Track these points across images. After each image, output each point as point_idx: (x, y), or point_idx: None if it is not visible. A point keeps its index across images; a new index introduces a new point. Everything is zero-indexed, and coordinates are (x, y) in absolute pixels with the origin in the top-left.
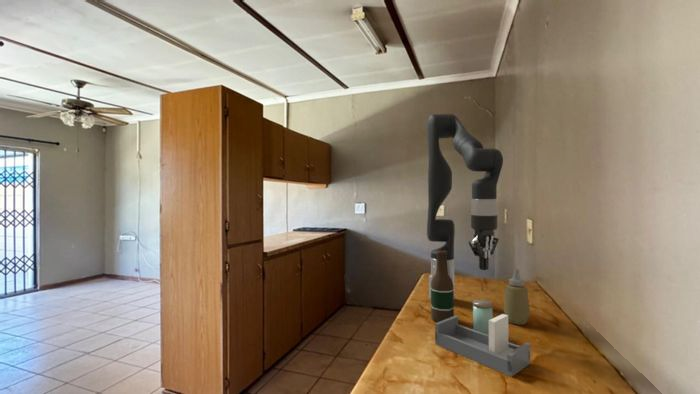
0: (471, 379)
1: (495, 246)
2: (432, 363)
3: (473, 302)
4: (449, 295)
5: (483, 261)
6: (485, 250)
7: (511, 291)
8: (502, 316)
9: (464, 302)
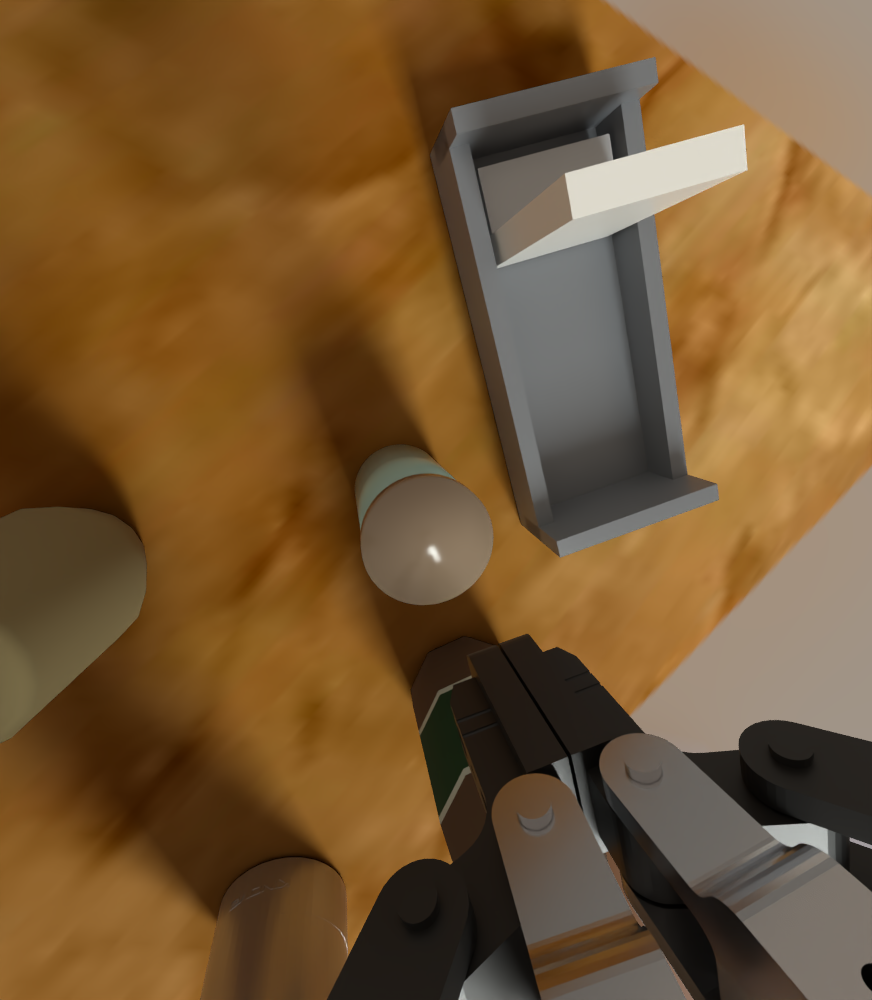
0: (738, 180)
1: None
2: (767, 346)
3: (488, 559)
4: None
5: (621, 708)
6: (812, 858)
7: (44, 638)
8: (614, 180)
9: (186, 857)
